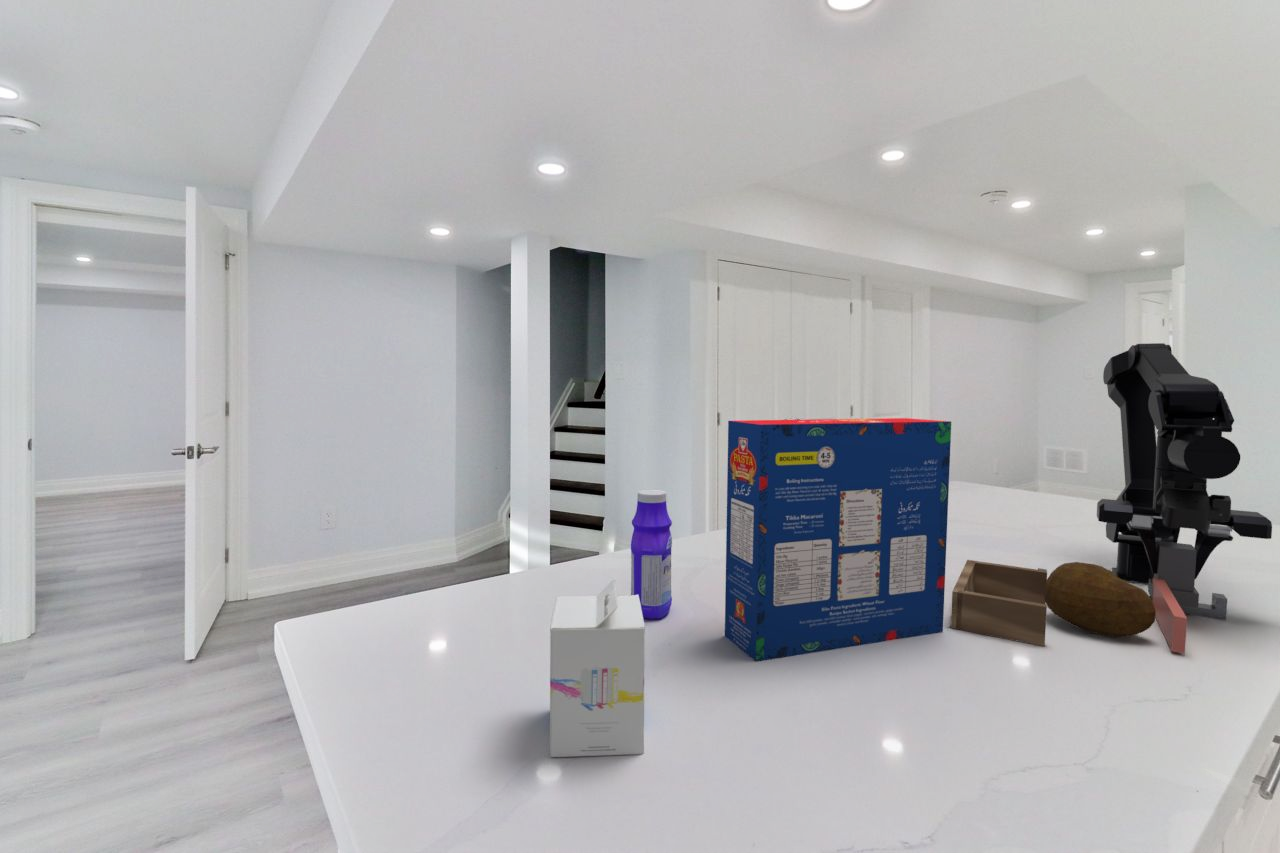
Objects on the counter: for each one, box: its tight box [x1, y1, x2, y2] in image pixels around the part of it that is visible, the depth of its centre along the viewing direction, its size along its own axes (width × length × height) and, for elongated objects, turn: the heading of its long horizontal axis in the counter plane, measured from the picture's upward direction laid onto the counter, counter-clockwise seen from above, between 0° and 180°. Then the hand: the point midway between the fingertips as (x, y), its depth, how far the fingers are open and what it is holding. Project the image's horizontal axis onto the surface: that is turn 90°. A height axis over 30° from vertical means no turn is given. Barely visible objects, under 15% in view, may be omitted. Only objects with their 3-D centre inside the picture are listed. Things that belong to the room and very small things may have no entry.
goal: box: [950, 559, 1048, 647], centre depth 89 cm, size 18×11×5 cm, turn 147°
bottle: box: [630, 488, 673, 620], centre depth 88 cm, size 7×6×17 cm
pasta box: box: [724, 417, 952, 663], centre depth 81 cm, size 28×8×28 cm, turn 109°
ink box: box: [549, 579, 646, 758], centre depth 58 cm, size 9×8×13 cm
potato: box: [1044, 561, 1156, 638], centre depth 84 cm, size 8×12×9 cm
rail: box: [1037, 567, 1228, 621], centre depth 95 cm, size 2×22×3 cm, turn 57°
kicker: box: [1147, 541, 1200, 654], centre depth 84 cm, size 22×5×9 cm, turn 147°
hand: (1173, 575), depth 91 cm, fingers closed on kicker, 4 cm apart
